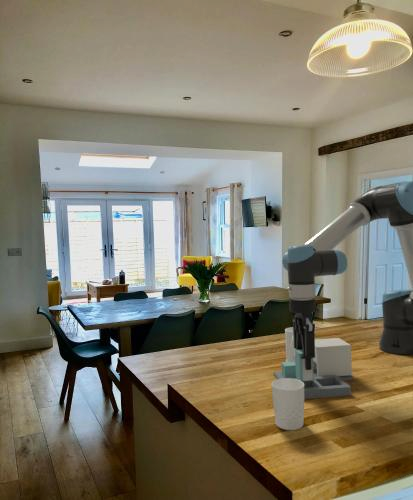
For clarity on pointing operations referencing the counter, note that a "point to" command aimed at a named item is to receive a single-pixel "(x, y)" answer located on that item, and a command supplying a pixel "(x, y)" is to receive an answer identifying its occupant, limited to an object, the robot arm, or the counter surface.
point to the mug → (290, 345)
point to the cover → (332, 357)
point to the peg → (300, 365)
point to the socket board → (325, 387)
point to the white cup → (288, 403)
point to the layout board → (345, 378)
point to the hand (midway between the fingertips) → (304, 377)
